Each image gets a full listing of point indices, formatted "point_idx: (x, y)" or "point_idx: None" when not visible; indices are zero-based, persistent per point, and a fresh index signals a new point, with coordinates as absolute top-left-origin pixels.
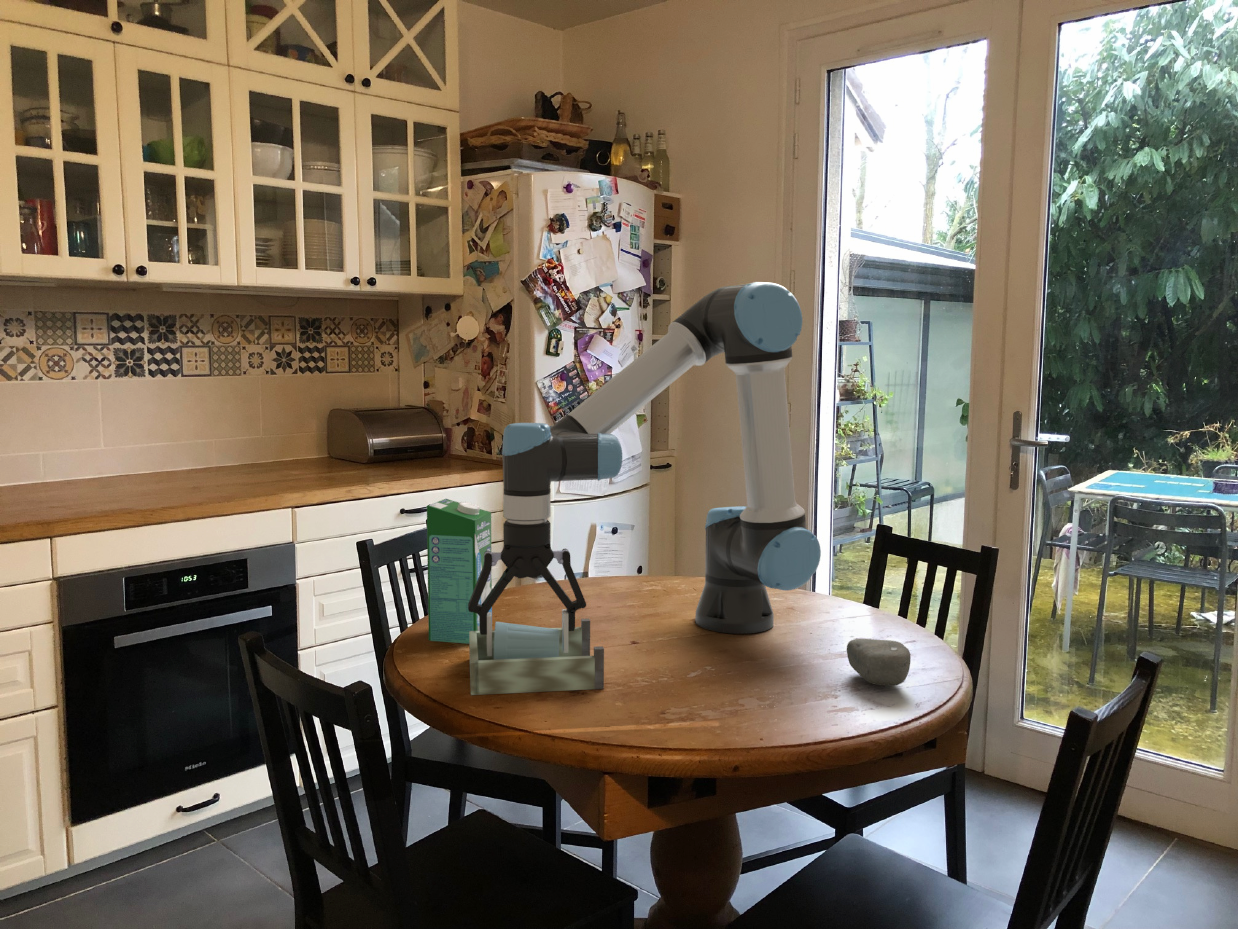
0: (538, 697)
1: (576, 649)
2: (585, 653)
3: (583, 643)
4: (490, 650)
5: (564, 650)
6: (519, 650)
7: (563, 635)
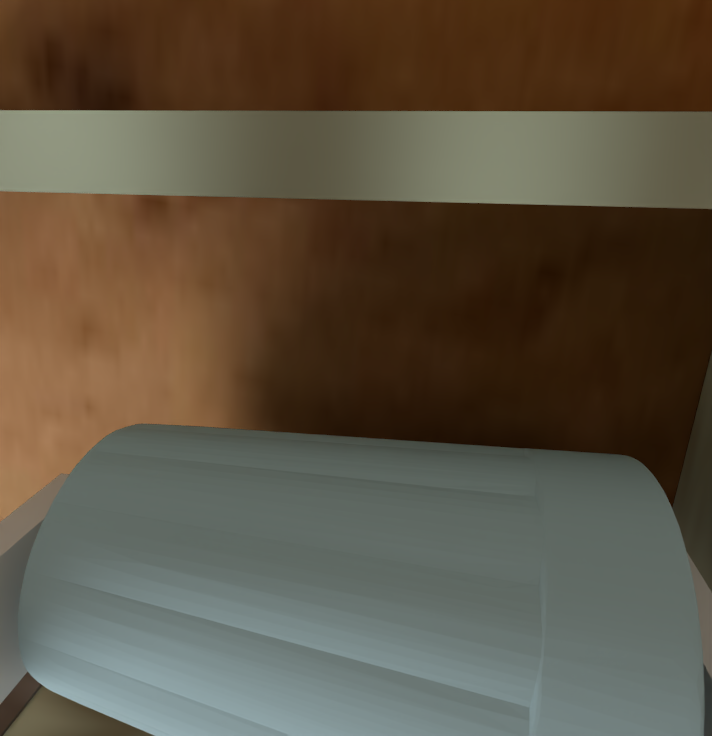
0: (338, 14)
1: None
2: None
3: (30, 687)
4: None
5: None
6: (416, 473)
7: (6, 581)
